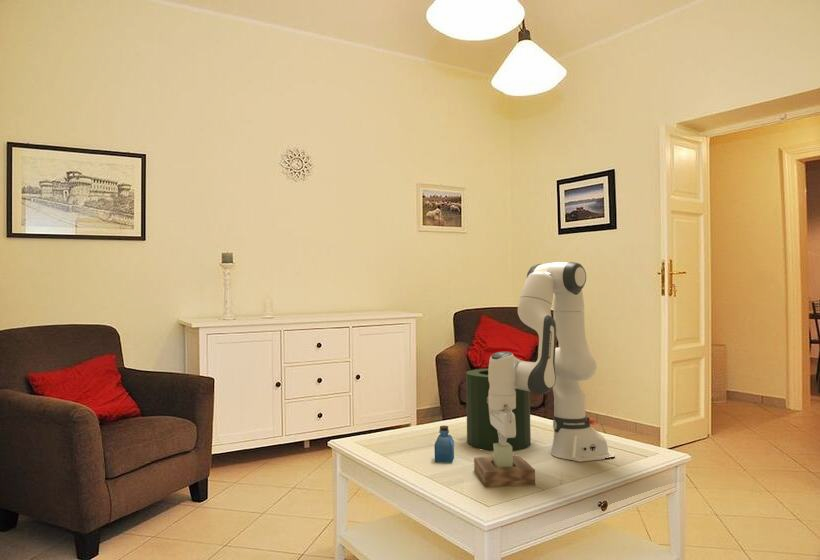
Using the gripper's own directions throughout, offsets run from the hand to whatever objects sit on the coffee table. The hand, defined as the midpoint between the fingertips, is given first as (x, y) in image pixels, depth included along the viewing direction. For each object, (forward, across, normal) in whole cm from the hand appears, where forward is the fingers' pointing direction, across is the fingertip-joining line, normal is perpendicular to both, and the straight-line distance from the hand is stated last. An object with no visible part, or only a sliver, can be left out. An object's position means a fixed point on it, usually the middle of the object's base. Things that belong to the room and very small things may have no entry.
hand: (502, 445), depth 185 cm
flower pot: (+11, +42, -9) cm, 44 cm away
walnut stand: (+10, 0, 0) cm, 11 cm away
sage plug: (+9, 0, 0) cm, 9 cm away
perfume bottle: (+11, +22, +16) cm, 29 cm away
